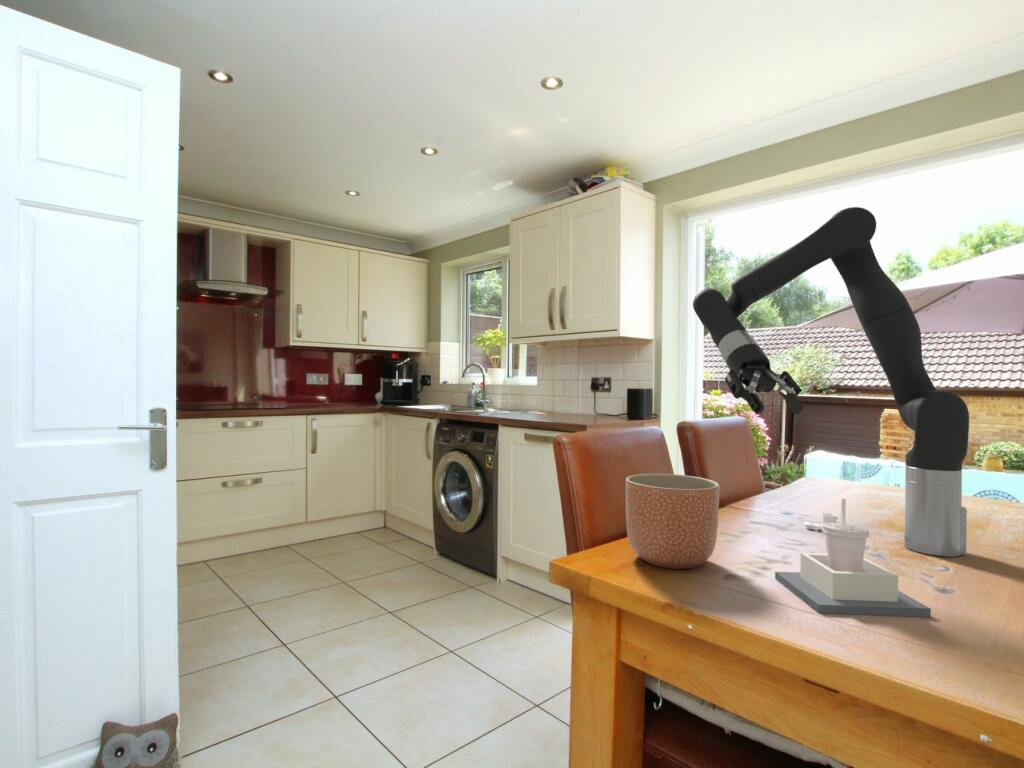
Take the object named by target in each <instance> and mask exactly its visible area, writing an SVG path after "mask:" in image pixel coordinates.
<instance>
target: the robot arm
mask: <svg viewBox="0 0 1024 768" xmlns="http://www.w3.org/2000/svg"><path fill="white" fill-rule="evenodd" d="M876 231H877V221H876V217H875V215H874V214H873V213H872V212H871V211H870V210H869V209H866V208H864V207H859V206H855V207H854V206H853V207H847V208H844V209H842V210H839V211H837V212H836V213H834V214H833V215H832V216H831V217H830V218H829V219H828V220H827V221H826V222H824V223H823V224H822V225H821V226H820V227H819V228H817V229H816V230H814V232H812V233H811V234H809V235H807V236H806V237H805V238H804V239H802V240H800V241H799V242H797V243H796V244H794V245H792V246H791V247H789V248H787V249H786V250H784V251H781V252H780V253H779V254H777V255H775V256H773V257H771V258H769V259H768V260H765V261H764V262H762V263H760V264H759V265H757V266H755V267H753V268H752V269H750V270H748V271H747V272H744V273H743V274H741V275H740V276H738V277H736V278H735V279H733V281H732V282H731V293H730V294H729V295H728V296H727V297H726V298H725V297H724V294H723V293H721V291H720V290H717V289H716V288H704V289H701V290H700V291H698V292H697V293H696V294H695V296H694V297H693V301H692V308H693V311H694V313H695V314H696V316H697V318H698V319H699V321H700V322H701V324H702V326H703V327H704V328H705V329H707V331H708V333H709V335H710V337H711V340H712V341H713V343H714V344H715V347H716V348H717V349H718V352H719V353H720V355H721V358H722V360H723V361H724V363H725V365H726V366H727V368H728V369H729V370H728V373H726V376H725V377H724V380H725V383H726V385H727V386H728V388H729V390H730V392H731V394H732V396H733V397H734V399H740V398H741V399H742V400H744V401H745V402H747V403H746V404H748V407H750V409H751V410H752V411H753V412H754V413H755V415H761V414H762V413H763V411H764V410H765V405H764V402H762V400H761V399H760V397H759V395H758V394H757V393H759V394H760V393H766V394H770V395H771V396H773V397H776V398H777V397H778V398H779V399H781V400H783V401H785V402H784V403H785V404H786V405H787V407H788V409H789V410H790V411H791V413H793V415H795V416H796V415H797V416H798V415H799V414H800V413H801V412H802V411H803V408H804V406H803V404H802V403H801V401H800V400H799V398H798V396H799V395H800V394H801V392H803V389H802V388H801V387H800V386H799V385H798V383H797V382H796V380H794V378H793V377H792V376H791V374H790V373H789V372H788V371H786V370H784V371H782V373H776V372H775V371H773V370H772V368H771V361H770V359H769V358H768V356H767V355H766V354H765V352H764V350H763V349H762V348H761V346H760V345H759V343H758V342H757V341H756V339H755V338H754V337H753V336H752V335H751V334H750V333H749V332H748V330H747V329H746V328H745V326H744V325H743V323H742V322H741V321H740V320H739V319H738V317H740V316H741V315H742V314H743V313H745V311H747V310H748V308H749V307H750V306H752V305H753V304H755V303H757V302H758V301H761V300H762V299H764V298H766V297H767V296H769V295H771V294H772V293H775V292H776V291H778V290H780V289H781V288H783V287H784V286H785V285H788V284H789V283H790V282H792V281H794V280H795V279H796V278H797V277H799V276H801V275H803V274H804V273H805V272H807V271H808V270H810V269H812V268H814V267H816V266H817V265H819V264H822V263H823V262H825V261H827V260H831V261H832V263H833V265H834V267H836V270H837V271H838V273H839V275H840V277H841V278H842V280H843V282H844V284H845V287H846V290H847V293H848V295H849V296H848V297H849V299H850V300H851V303H852V306H853V309H854V311H855V314H856V317H857V318H858V321H859V323H860V324H861V327H862V330H863V332H864V333H865V336H866V338H867V339H868V342H869V344H870V345H871V348H872V349H873V352H874V354H875V357H876V358H877V360H878V362H879V364H880V367H881V369H882V370H883V372H884V374H885V376H886V378H887V381H888V384H889V386H890V388H891V392H892V394H893V395H892V396H893V399H894V402H895V405H896V407H897V411H898V414H899V417H900V418H901V421H902V422H903V424H904V425H906V427H908V429H910V430H912V431H914V443H913V446H912V448H911V449H910V450H909V451H907V452H906V453H905V454H906V455H905V473H904V474H905V477H904V478H905V480H904V481H905V483H904V484H905V486H904V487H905V488H904V489H905V492H904V493H905V494H904V496H905V499H904V547H906V548H907V549H909V550H911V551H914V552H917V553H921V554H927V555H931V556H938V557H939V556H940V557H949V558H950V557H952V558H955V557H960V556H967V538H968V537H967V533H968V531H967V529H968V528H967V527H968V526H967V525H968V521H967V520H968V519H967V518H968V516H967V515H968V510H967V507H966V506H965V507H964V506H962V505H963V502H962V499H963V497H962V496H963V493H962V491H963V488H962V487H963V463H964V460H965V459H966V456H967V454H968V448H969V447H968V445H969V432H970V431H969V430H970V414H969V413H970V412H969V409H968V406H967V403H966V402H965V400H964V399H963V398H962V397H960V396H959V395H958V394H956V393H954V392H949V391H945V390H937V389H936V387H935V385H934V384H933V382H932V380H931V378H930V376H929V374H928V372H927V370H926V367H925V365H924V361H923V350H922V349H923V348H922V347H923V346H922V333H921V329H920V325H919V322H918V319H917V318H916V316H915V313H914V312H913V310H912V307H911V306H910V305H911V304H910V303H909V301H908V300H907V298H906V296H905V295H904V293H903V292H902V291H901V290H900V288H899V287H898V286H897V285H896V284H895V282H894V281H892V279H891V278H890V277H889V276H888V275H887V273H886V272H885V271H884V269H882V267H881V266H880V264H879V262H878V260H877V257H876V253H875V251H874V249H873V246H872V243H871V241H872V239H873V237H874V235H875V233H876ZM776 385H778V387H777V389H775V387H776ZM744 386H745V387H744ZM783 391H784V392H785V393H783Z"/></svg>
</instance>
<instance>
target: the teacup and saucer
mask: <svg viewBox="0 0 1024 768" xmlns="http://www.w3.org/2000/svg"><path fill="white" fill-rule="evenodd" d="M820 516H821V525H820V524H819V523H815V522H812V521H804V524H803V525H804V527H805V528H807V529H808V530H811V529H812V530H811V531H813V530H819V531H822V529H823V524H824V523H837V520H839V519H840V520H841V517H840V516H837V515H836V514H832V513H826V512H825V513H821V514H820ZM821 526H822V527H821Z"/></svg>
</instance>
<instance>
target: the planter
mask: <svg viewBox="0 0 1024 768" xmlns="http://www.w3.org/2000/svg"><path fill="white" fill-rule="evenodd" d="M719 508H720V483H718V482H717V481H714V480H712V479H709V478H708V479H707V478H703V477H700V476H694V475H693V476H692V475H685V474H673V473H640V474H639V473H638V474H633V475H629V476H627V477H626V478H625V521H626V522H625V525H626V534H627V535H626V536H627V539H628V543H629V545H630V547H631V549H632V550H633V551H634V553H635V554H636V555H637V556H638V557H639V558H640V559H641V560H643V561H645V562H646V563H648V564H650V565H654V566H656V567H661V568H667V569H674V570H677V569H678V570H682V569H683V570H686V569H692V568H696V567H698V566H700V565H702V564H703V563H705V562H707V561H708V559H709V558H710V557H711V556H712V555H713V554H714V553H713V552H714V551H715V549H716V548H715V547H716V543H717V537H718V526H719V510H720V509H719Z"/></svg>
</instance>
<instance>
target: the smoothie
mask: <svg viewBox="0 0 1024 768" xmlns="http://www.w3.org/2000/svg"><path fill="white" fill-rule="evenodd" d="M846 503H847V502H846V499H844V498H841V514H840V515H841V517H840V518H841V519H840V520H841V521H840V522H836V523H824V524H823V527H822V529H821V531H822V532H824V533H825V534H824V537H825V539H824V540H825V546H826V547H825V548H826V554H827V555H828V563H829V568H831V569H832V570H834V571H841V572H861V570H862V564H863V558H865V556H864V555H865V550H866V545H867V544H866V543H867V539H868V538H869V537H870V530H869V529H868V528H867V527H863V526H860V525H857V524H852V523H846V514H847V513H846Z"/></svg>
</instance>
